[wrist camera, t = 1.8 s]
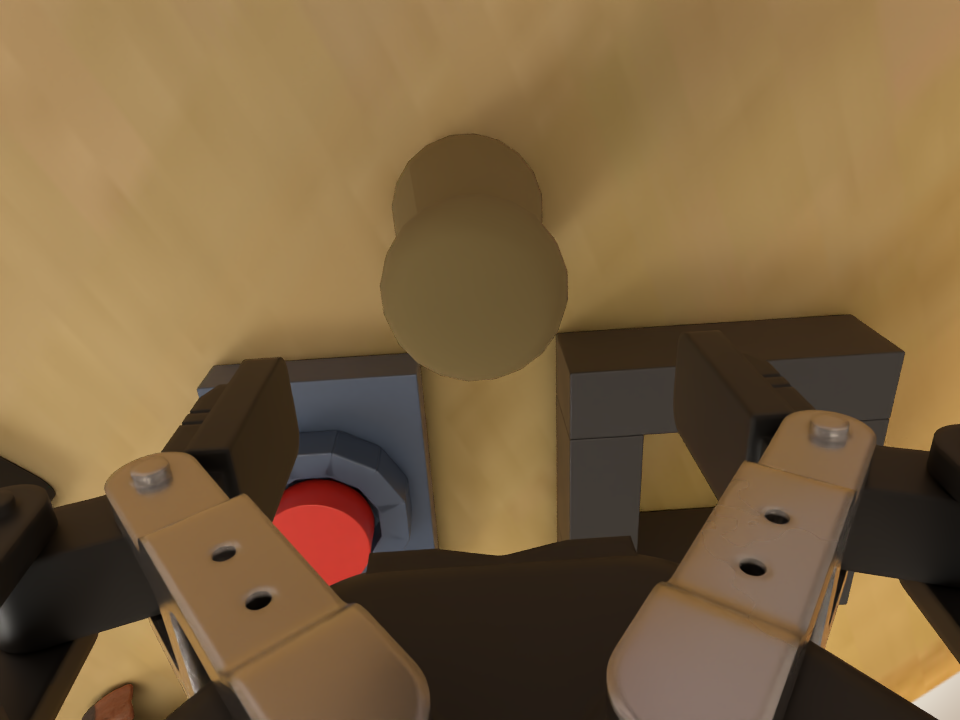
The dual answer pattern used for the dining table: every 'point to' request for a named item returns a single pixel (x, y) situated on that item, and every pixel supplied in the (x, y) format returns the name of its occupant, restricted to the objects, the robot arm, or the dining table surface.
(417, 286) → the cork
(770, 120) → the dining table surface
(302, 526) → the power button
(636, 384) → the socket
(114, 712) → the brown looped knot
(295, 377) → the power block
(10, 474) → the smart home device
